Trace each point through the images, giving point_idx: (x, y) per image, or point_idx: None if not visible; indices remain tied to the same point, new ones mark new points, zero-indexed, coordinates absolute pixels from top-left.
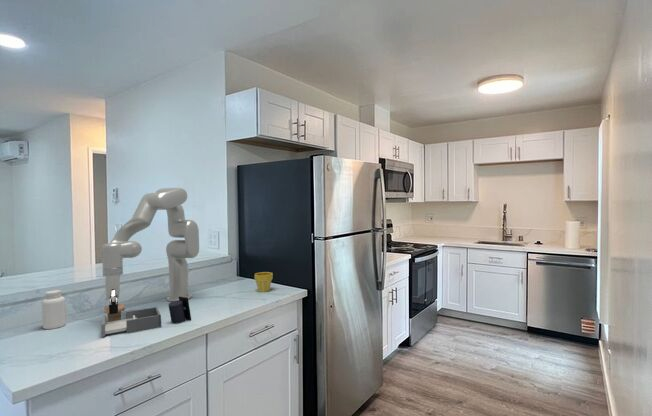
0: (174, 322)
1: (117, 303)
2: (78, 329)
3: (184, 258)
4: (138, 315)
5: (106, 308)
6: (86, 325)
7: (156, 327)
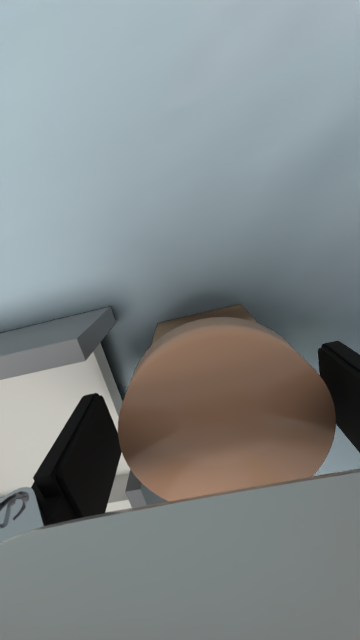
0: None
1: (351, 441)
2: (115, 115)
3: None
4: None
5: (148, 379)
6: (211, 151)
7: None
